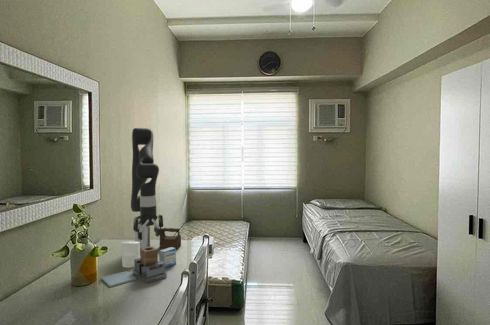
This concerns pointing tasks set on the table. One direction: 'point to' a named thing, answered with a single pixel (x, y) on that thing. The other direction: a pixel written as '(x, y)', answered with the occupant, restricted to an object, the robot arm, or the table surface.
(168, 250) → the medicine box
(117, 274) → the slate mat
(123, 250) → the white tapered container
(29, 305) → the table surface
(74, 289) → the table surface
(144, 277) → the vise
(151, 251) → the walnut collar
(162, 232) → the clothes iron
